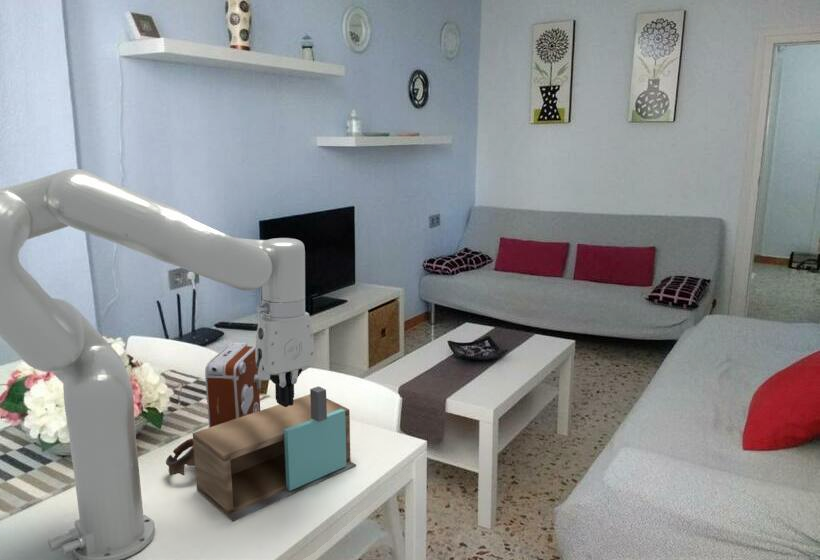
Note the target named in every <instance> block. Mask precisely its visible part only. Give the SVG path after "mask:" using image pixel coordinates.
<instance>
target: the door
mask: <svg viewBox="0 0 820 560" xmlns="http://www.w3.org/2000/svg"><path fill="white" fill-rule="evenodd" d="M309 393H310V399H311V418H312V419H311V420H309V421H306V422H303V423H300V424H298V425H295V426H292V427H289V428H287V429H284V444H285V467H286V489H288V490H289V491H291V490H293V489H295V488H298V487H300V486H302V485H304V484H307V483H309V482H311V481H313V480H316V479H318V478H320V477H322V476H325V475H327V474H329V473H331V472H334V471H336V470H338V469H340V468H343V467H345V466H346V423H345V410H343V409H339V410H336V411H333V412H331V413H328V414H327V405H326V398H327V389H325V388H323V387H321V386H319V385H318V386H316V387H312V388H310V391H309Z"/></svg>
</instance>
